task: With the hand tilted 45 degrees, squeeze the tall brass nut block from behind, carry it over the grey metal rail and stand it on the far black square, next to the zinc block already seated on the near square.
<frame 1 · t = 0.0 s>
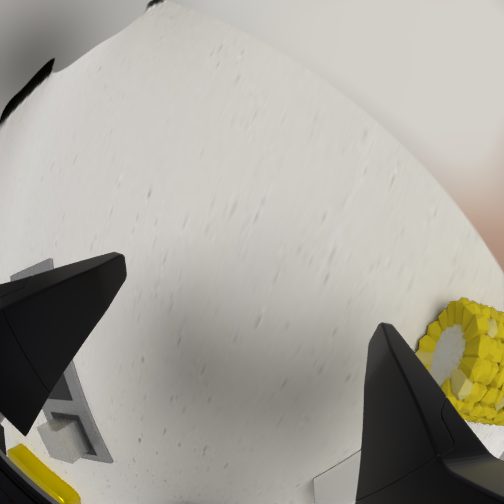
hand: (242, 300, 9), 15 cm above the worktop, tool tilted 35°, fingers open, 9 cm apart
medicine bottle: (358, 476, 21), on the worktop
zinc block: (72, 434, 25), point 1 cm above the worktop, touching rail
rail: (50, 369, 26), on the worktop
food: (464, 356, 21), on the worktop
element tile: (51, 486, 26), on the worktop
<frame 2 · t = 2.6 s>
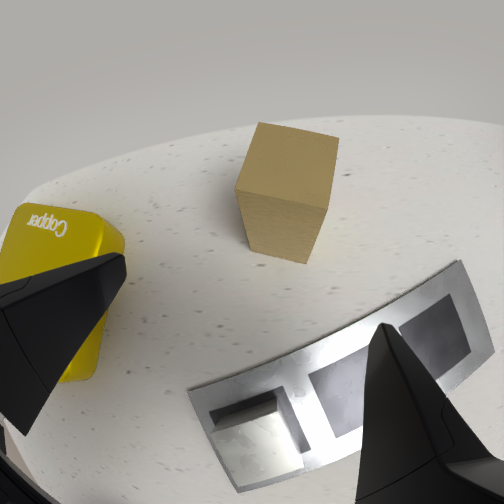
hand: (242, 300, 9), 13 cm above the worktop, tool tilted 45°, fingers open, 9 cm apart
zinc block: (260, 433, 18), point 1 cm above the worktop, touching rail
rail: (367, 383, 19), on the worktop
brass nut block: (285, 231, 23), on the worktop
element tile: (58, 290, 24), on the worktop
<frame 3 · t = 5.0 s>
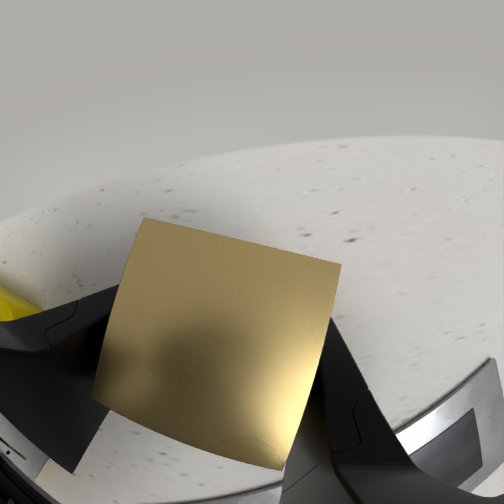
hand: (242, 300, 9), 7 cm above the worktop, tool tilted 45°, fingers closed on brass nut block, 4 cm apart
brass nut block: (248, 339, 15), on the worktop, touching gripper
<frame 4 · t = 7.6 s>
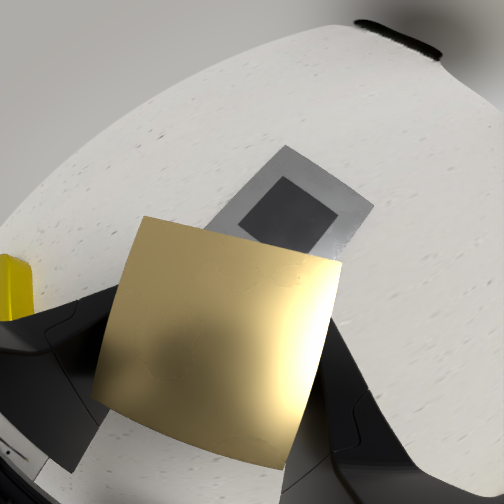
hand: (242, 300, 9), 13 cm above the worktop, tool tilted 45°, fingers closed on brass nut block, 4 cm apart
rail: (233, 285, 23), on the worktop
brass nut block: (249, 339, 15), point 7 cm above the worktop, touching gripper
element tile: (5, 330, 24), on the worktop
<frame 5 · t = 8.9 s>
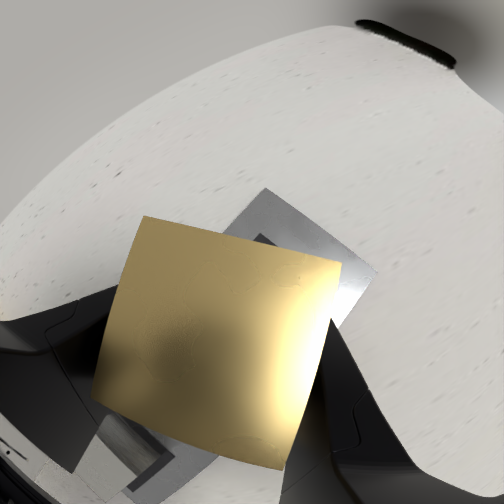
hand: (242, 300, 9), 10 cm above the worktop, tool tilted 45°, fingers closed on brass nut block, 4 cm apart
zinc block: (122, 449, 15), point 1 cm above the worktop, touching rail
rail: (197, 373, 18), on the worktop
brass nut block: (248, 339, 15), point 3 cm above the worktop, touching gripper
when the fingers open (8 cm above the worktop, at t = 10.0 s): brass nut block stays where it is, resting on rail.
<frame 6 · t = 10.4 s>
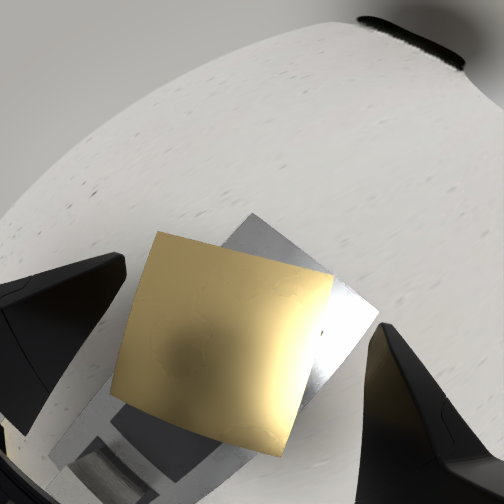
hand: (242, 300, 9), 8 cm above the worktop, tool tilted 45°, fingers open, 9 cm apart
zinc block: (107, 483, 13), point 1 cm above the worktop, touching rail
rail: (178, 417, 15), on the worktop
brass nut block: (250, 339, 16), point 1 cm above the worktop, touching rail
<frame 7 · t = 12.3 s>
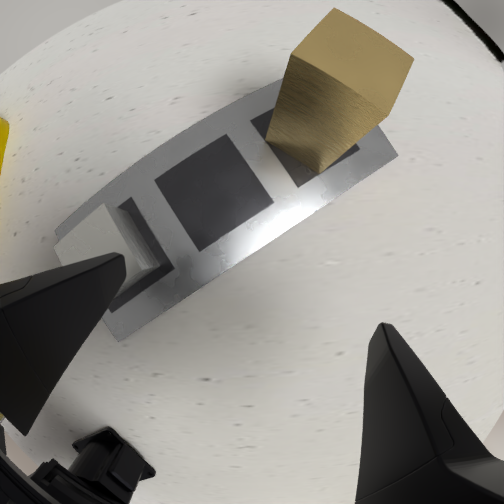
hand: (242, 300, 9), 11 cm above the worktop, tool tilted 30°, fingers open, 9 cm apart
zinc block: (119, 256, 18), point 1 cm above the worktop, touching rail
rail: (225, 184, 19), on the worktop
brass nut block: (307, 133, 19), point 1 cm above the worktop, touching rail
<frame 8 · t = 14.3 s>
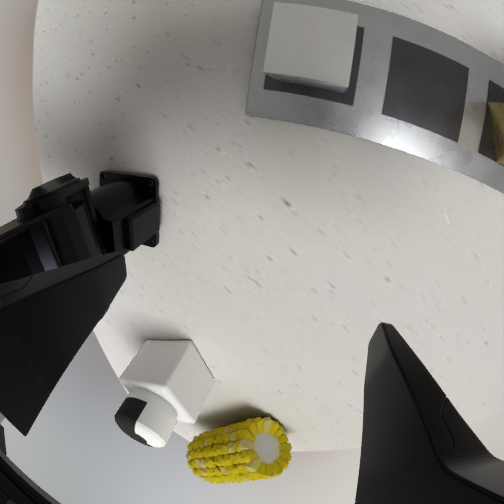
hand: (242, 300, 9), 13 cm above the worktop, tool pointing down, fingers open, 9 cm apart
medicine bottle: (181, 358, 33), on the worktop
zinc block: (314, 55, 15), point 1 cm above the worktop, touching rail
rail: (438, 94, 14), on the worktop
food: (246, 426, 38), on the worktop
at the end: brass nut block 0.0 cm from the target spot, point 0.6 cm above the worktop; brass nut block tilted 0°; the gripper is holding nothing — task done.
